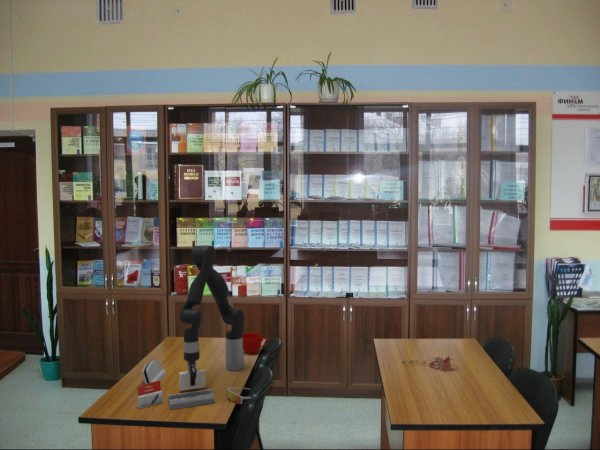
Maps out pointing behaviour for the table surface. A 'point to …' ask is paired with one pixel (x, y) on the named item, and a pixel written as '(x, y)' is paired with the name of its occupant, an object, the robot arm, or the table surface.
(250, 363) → the table surface
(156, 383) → the ink cartridge box
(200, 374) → the door panel
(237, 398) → the sunglasses
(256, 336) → the ceramic cup
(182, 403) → the track
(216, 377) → the table surface
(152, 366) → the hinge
